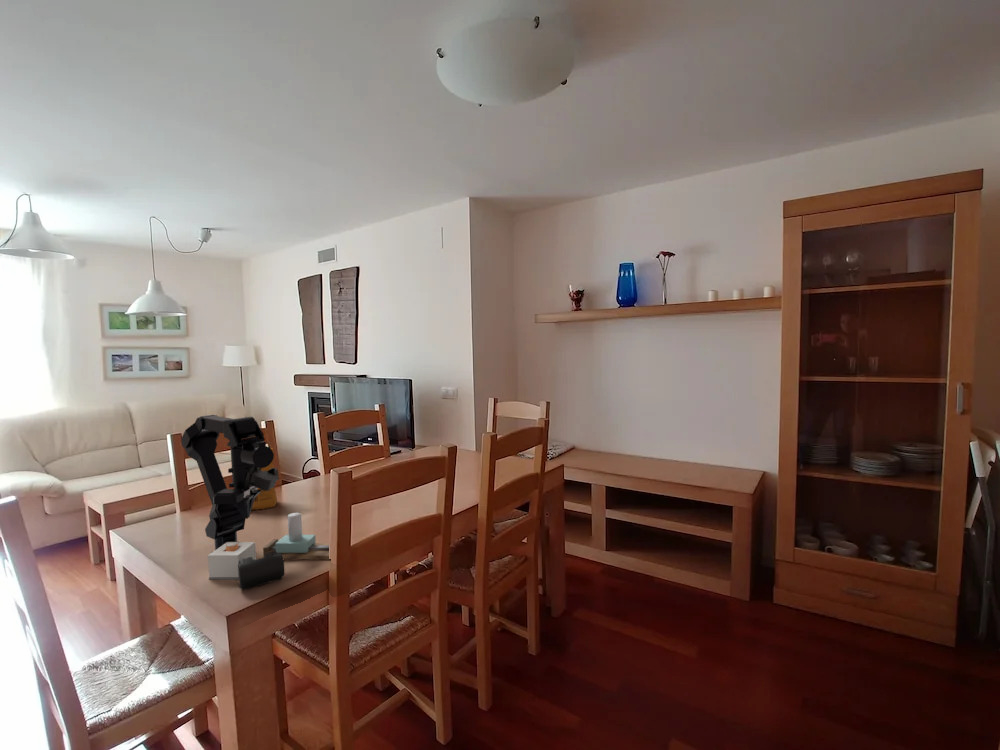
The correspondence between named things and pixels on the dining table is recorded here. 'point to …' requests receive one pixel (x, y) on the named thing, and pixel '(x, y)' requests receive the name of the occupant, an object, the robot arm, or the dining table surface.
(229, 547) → the cylinder
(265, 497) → the coffee package
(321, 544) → the rail
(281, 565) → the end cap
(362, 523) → the dining table surface
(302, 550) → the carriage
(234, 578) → the cabinet
